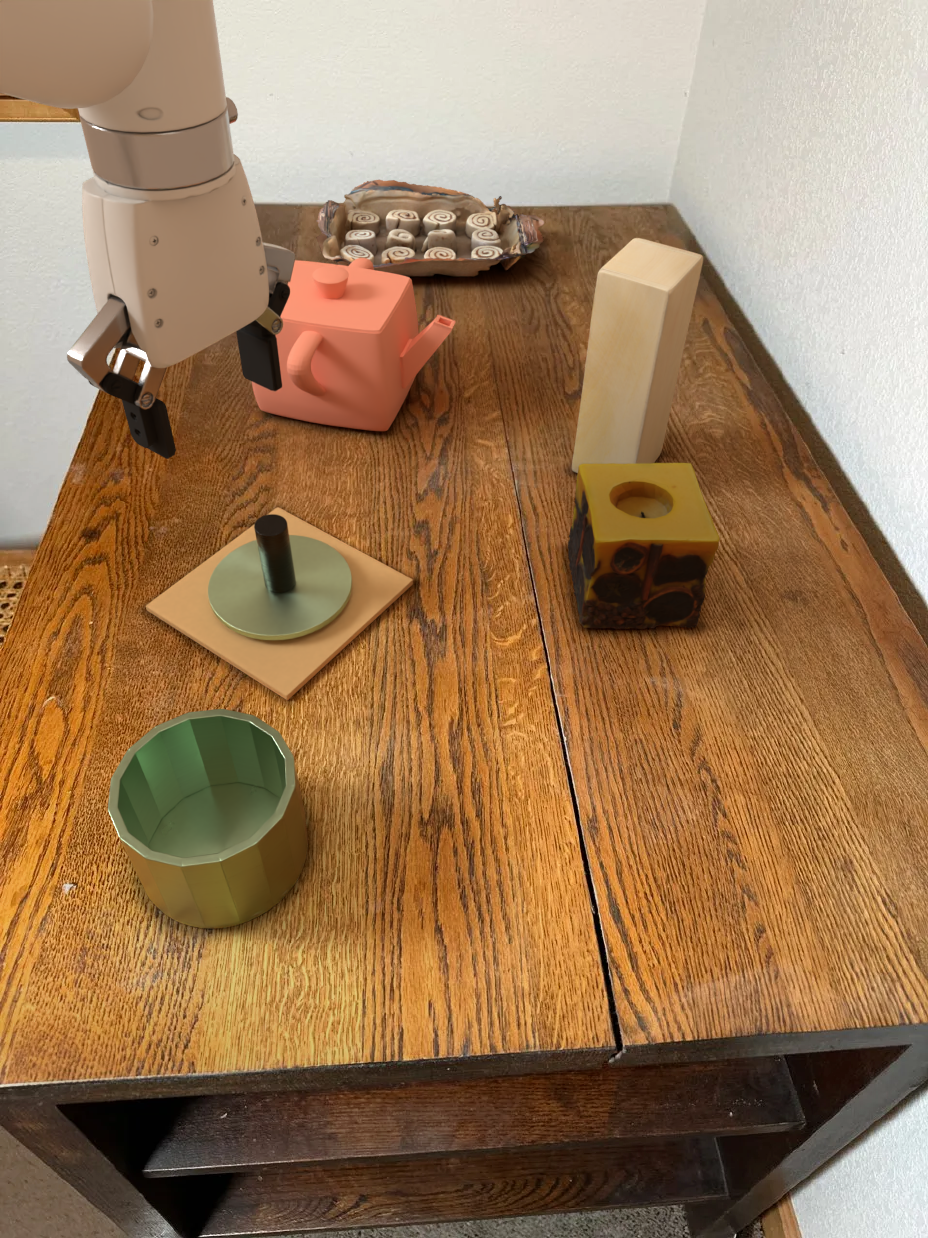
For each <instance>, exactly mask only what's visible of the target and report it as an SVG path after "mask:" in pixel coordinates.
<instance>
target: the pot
mask: <svg viewBox="0 0 928 1238" xmlns="http://www.w3.org/2000/svg"><path fill="white" fill-rule="evenodd" d="M109 784H110V785H109V793H108V803H107V812H108V815H109V817H110V819H111V822H112V824H113V826H114V829H115V831H116V834H117V836H118V839H119V841H120V842H121V845H122V847H123V849H124V850H125V853H126V855H127V857H128V860H129V861H130V863H131V866H132V867H133V869H134V872H135V873H136V876H137V878H138V879H139V881H140V883H141V886H142V887H143V890H144V892H145V894H146V896H147V898H148V900H149V901H150V902H152V903H153V905H154V906H155V907H156V908H157V910H159V911H160V912H161V913H163V914H164V915H165V916H167V917H168V918H170V919H171V920H173V921H176V922H178V923H180V924H183V925H185V926H189V927H194V928H199V929H210V930H211V929H227V928H229V927H235V926H238V925H239V926H240V925H242V924H244V923H248V922H250V921H253V920H254V919H257V918H259V917H260V916H262V915H263V914H265V913H267V912H269V911H270V910H271V909H272V908H274V907H275V906H276V905H278V904H279V903H280V902H281V901H282V900H283V899H284V898H285V897H286V896H287V895H288V893H289V892H290V891H291V890H292V889H293V887H294V886H295V884H296V883H297V881H298V879H299V878H300V876H301V875H302V871H303V869H304V867H305V863H306V859H307V856H308V850H309V837H308V828H307V818H306V813H305V807H304V803H303V797H302V792H301V787H300V781H299V776H298V770H297V765H296V759H295V757H294V754H293V752H292V751H291V748H290V747H289V746H288V744H287V741H285V739H284V737H283V736H282V734H281V732H280V731H278V730H277V729H276V728H274V727H273V726H271V725H270V724H269V723H267V722H266V721H264V720H262V719H260V718H259V717H258V716H257V715H254V714H249V713H245V712H241V711H236V710H230V709H228V708H227V709H226V708H213V709H205V710H197V711H188V712H185V713H182V714H180V715H179V716H176V717H174V718H171V719H169V720H166V721H165V722H162V723H159V724H157V725H155V726H154V727H152V728H151V729H149V731H147V732H146V733H145V734H144V735H143V736H142V737H140V739H139V740H137V741H136V742H135V743H134V744H132V745H131V746H130V747H129V748H128V749H127V750H126V752H125V753H124V755H123V757H122V758H121V760H120V762H119V764H118V765H117V767H116V768H115V771H114V772H113V774H112V776H111V779H110V783H109Z"/></svg>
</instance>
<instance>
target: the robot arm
mask: <svg viewBox="0 0 928 1238" xmlns="http://www.w3.org/2000/svg"><path fill="white" fill-rule="evenodd" d="M214 6H215V5H214V0H0V94H2V95H5V96H10V97H14V98H17V99H20V100H25V101H28V102H31V103H36V104H40V105H44V106H46V107H47V106H49V107H52V108H53V107H54V108H58V109H66V110H68V109H69V110H71V109H73V110H74V109H77V110H78V116H79V121H80V126H81V129H82V134H83V137H84V142H85V145H86V149H87V153H88V158H89V161H90V166H91V169H92V174H93V177H91V178H88V179H86V180H85V181H83V182H82V185H81V187H82V190H81V191H82V192H81V207H82V209H81V211H82V212H81V213H82V227H83V239H84V247H85V254H86V262H87V267H88V273H89V278H90V279H89V280H90V284H91V290H92V294H93V300H94V304H95V309H96V313H97V314H95V315H96V316H94V318H93V319H92V320H91V321H90V323H89V324H88V326H87V327H86V328H85V329H84V331H83V332H82V333H81V334H80V336H79V337H78V338H77V339H76V341H75V342H74V344H73V345H72V346H71V347H70V349H69V350H68V351H67V355H66V359H67V362H68V364H70V365H71V366H72V367H73V368H74V369H75V370H76V371H77V372H78V373H79V374H81V376H82V377H83V378H84V379H86V380H87V382H88V383H89V384H90V385H91V386H93V387H94V388H97V389H98V390H100V391H102V392H104V393H105V394H106V393H107V394H108V395H110V396H112V397H114V398H117V399H118V400H119V399H120V400H121V403H122V407H123V411H124V414H125V417H126V421H127V425H128V429H129V431H130V432H129V433H130V435H131V438H132V439H133V441H134V442H135V443H136V444H137V445H138V446H140V447H142V448H144V449H147V450H149V451H151V452H153V453H155V454H157V455H159V456H160V457H161V458H164V459H166V460H169V459H170V458H172V457H174V456H175V455H176V452H177V447H176V443H175V438H174V435H173V431H172V426H171V422H170V417H169V413H168V409H167V405H166V403H165V402H164V401H163V400H161V399H159V398H157V396H158V395H159V391H160V388H161V386H162V383H163V381H164V378H165V374H166V373H167V369H168V368H169V367H173V366H174V365H177V364H179V363H181V362H184V361H185V360H187V359H188V358H191V357H192V356H194V355H196V354H198V353H200V352H202V351H203V350H205V349H207V348H209V347H210V346H211V347H212V345H214V344H216V343H218V342H220V341H221V340H223V339H225V338H227V337H228V336H230V335H232V334H234V333H235V334H236V338H237V345H238V352H239V359H240V366H241V372H242V376H243V378H245V380H248V381H250V382H251V383H252V382H254V383H256V384H258V385H260V386H263V387H265V388H267V389H269V390H271V391H277V390H279V389H280V388H282V379H281V371H280V363H279V355H278V346H277V338H276V335H277V334H279V333H280V332H281V330H282V328H283V320H282V318H281V317H280V316H281V314H282V312H283V309H284V307H285V305H286V303H287V300H288V298H289V296H290V288H289V286H288V282H290V280H291V276H292V271H293V267H294V263H295V260H296V252H294V251H293V250H291V249H288V248H286V247H283V246H281V245H277V244H274V243H273V244H272V243H268V242H264V241H263V235H262V232H261V226H260V221H259V219H258V213H257V210H256V206H255V202H254V198H253V195H252V192H251V188H250V185H249V184H250V183H249V181H248V177H247V174H246V172H245V169H244V167H243V164H242V161H241V159H240V158H239V156H237V154H235V153H234V147H233V139H232V131H231V125H232V124H234V123H236V122H237V121H238V117H239V113H238V107H237V105H236V104H235V102H234V101H233V99H232V98H230V97H227V95H226V94H227V93H226V89H225V88H226V87H225V79H224V73H223V72H224V71H223V66H222V59H221V58H222V57H221V49H220V43H219V36H218V29H217V28H218V27H217V20H216V14H215V7H214ZM114 349H119V352H118V355H117V358H116V361H115V364H114V367H113V369H112V368H111V367H110V366H109V364H108V356H109V354H110V353H111V352H112V351H113V350H114ZM141 361H142V362H144V366H143V369H142V371H141V375H140V377H139V380H138V382H136V381H134V378H135V376H136V373H137V370H138V366H139V364H140V362H141Z"/></svg>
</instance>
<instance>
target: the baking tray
mask: <svg viewBox="0 0 928 1238" xmlns="http://www.w3.org/2000/svg"><path fill="white" fill-rule="evenodd" d="M343 198H344V201H343V202H336V201H335V200H331V199H327V201H326V202H325V203H323V204H322V206H323V207H322V208H320V209H319V212H318V216H317V220H316V222H317V223H318V225H317V226H318V228H319V229H320V232H321V233H320V234H319V235H318V236H316V237H315V238H316V240H317V244H318V246H319V249H320V251H321V254H322V256H323V257H324V258H325V259H328V260H330V261H334V262H335V263H336V265H344V266H349V265H350V264H351V263H352V262H353V261H354V260H355V259H358V258H367V259H369V260H370V261H371V262H372V263H373V267H374V270H376V271H382V272H388V273H393V274H398V275H403V276H406V277H434V275H443V276H449V277H476V276H478V275H479V274H480V273H479V272H480V271H489V270H490V267H491V266H495V265H497V264H500V265H501V266H502V268H503V269H504V271H507V270H509V269H510V268H511V267H512V266H513V265H514V264H516V263H517V262H518V261H519V260H521V259H523V258H526V256H527V254H532V253H533V252H535V251H536V249H538V248H540V244H542V243H543V242H544V236H543V234H542V232H541V231H540V230H539V228H540V227H542V226H544V224H545V221H544V220H543V219H542V218H540V216H537V215H536V214H527V215H526V214H524V213H522V214H521V213H520V214H518V213H516V214H515V211H514V209H513V208H512V207H511V206H510V205H507V204H506V203H501V204H500V201H501V200H502V199H503V196H502V195H499V196H498V198H496V197H494V198H492V199H493V200H492V201H493V207H491V208H489V207H488V206H487V205H486V204H485V203H484V202H483V201H482V200H481V199H480V198H478V197H475V196H473V195H471V194H469V193H466V192H464V191H458V190H455V189H450V188H446V187H441V186H436V185H435V186H434V185H424V184H415V183H408V182H407V181H398V180H395V179H389V180H383V179H374V180H366V181H364V182H363V183H361V184H359V185H357V186H354V188H352V189H351V191H350V192H349V193H348V194H347V193H346V194H344V196H343Z"/></svg>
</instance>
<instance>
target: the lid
mask: <svg viewBox="0 0 928 1238" xmlns="http://www.w3.org/2000/svg"><path fill="white" fill-rule="evenodd" d="M268 514H269V513H268ZM254 524H255V525H254ZM254 524H253V525H254V529H255V534H256V540H254V541H251V542H249V543H247V544H244V545H242V546H240V547H239V548H237V549H235V550H234V551H232V552H231V553H229V554H228V555H227V556H226V557H225V558H223V560H222V561H221V562H220V563H219V564H218V565H217V567H216V568H215V570H214V571H213V573H212V575H211V578H210V581H209V585H208V597H209V601H210V605H211V608H212V610H213V612H214V614H215V615H216V617H217V618H218V619H219V620H220V621H221V622H222V623H223V624H224V625H225V626H226V627H228V628H229V629H231V630H233V631H234V632H236V633H238V634H241V635H244V636H246V637H250V638H254V639H261V640H286V639H292V638H297V637H301V636H304V635H307V634H310V633H312V632H314V631H317V630H319V629H321V628H322V627H324V626H326V625H327V624H329V623H330V622H331V621H332V620H334V619H335V618H336V617H337V616H338V615H339V614H340V613H341V612H342V610H343V609H344V608H345V606H346V604H347V602H348V601H349V598H350V595H351V591H352V576H351V571H350V568H349V566H348V563H347V562H346V560H345V559H344V557H343V556H342V555H341V554H340V553H339V552H338V551H337V550H335V549H334V548H333V547H331V546H329V545H328V544H326V543H324V542H322V541H319V540H316V539H313V538H309V537H305V536H297V535H289V531H288V525H287V521H286V519H285V518H284V517H282V516H280V515H276V514H269V515H267V514H265V515H262V516H261V517H259V518H257V519H256V521H255V522H254Z"/></svg>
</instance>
